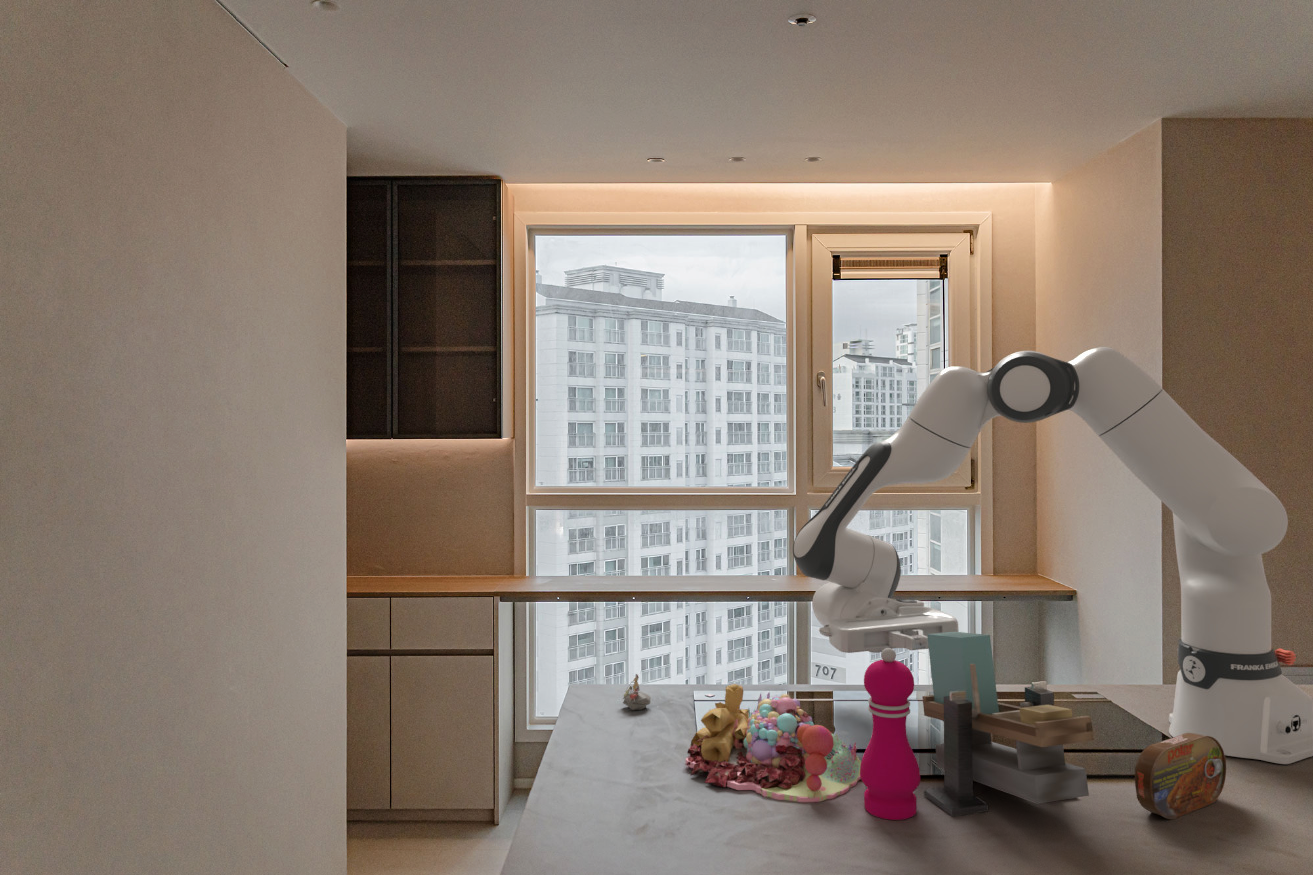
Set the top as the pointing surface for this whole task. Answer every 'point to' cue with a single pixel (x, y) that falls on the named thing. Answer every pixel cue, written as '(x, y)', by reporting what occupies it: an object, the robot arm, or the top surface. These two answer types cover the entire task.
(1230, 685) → the robot arm
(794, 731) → the candy landscape model
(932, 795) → the fulcrum
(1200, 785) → the tin
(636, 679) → the figurine
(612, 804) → the top surface
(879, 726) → the pepper mill
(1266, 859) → the top surface
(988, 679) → the teal rectangular block
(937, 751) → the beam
